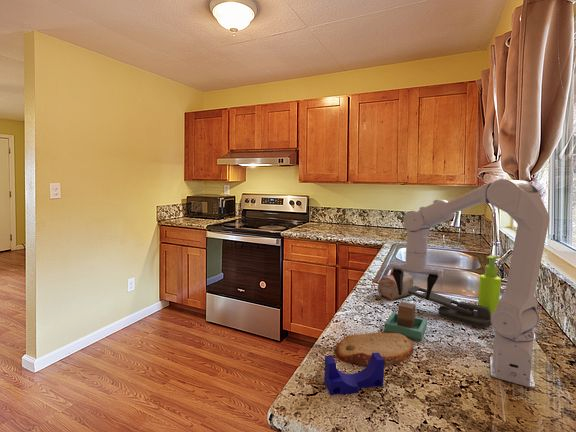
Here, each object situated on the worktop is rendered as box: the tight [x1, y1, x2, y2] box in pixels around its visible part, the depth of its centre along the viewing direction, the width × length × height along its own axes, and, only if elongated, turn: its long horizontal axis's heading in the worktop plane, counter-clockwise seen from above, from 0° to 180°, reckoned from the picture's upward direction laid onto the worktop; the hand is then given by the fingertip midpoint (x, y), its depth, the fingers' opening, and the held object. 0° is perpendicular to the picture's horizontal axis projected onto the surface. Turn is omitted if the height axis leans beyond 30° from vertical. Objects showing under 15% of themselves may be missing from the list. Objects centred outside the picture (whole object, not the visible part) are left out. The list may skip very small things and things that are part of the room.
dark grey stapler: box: [408, 285, 492, 329], centre depth 106 cm, size 9×7×25 cm
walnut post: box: [397, 301, 417, 329], centre depth 94 cm, size 4×4×7 cm
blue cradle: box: [323, 353, 385, 396], centre depth 67 cm, size 12×4×6 cm, turn 99°
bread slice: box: [335, 332, 415, 367], centre depth 82 cm, size 18×18×4 cm
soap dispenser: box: [477, 254, 504, 315], centre depth 106 cm, size 6×7×20 cm
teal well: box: [383, 312, 428, 342], centre depth 95 cm, size 10×10×2 cm
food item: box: [377, 270, 414, 301], centre depth 124 cm, size 14×8×10 cm, turn 125°
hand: (413, 296), depth 96 cm, fingers open, 7 cm apart
